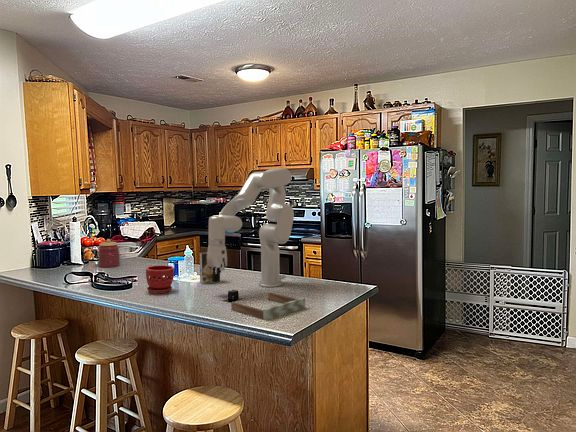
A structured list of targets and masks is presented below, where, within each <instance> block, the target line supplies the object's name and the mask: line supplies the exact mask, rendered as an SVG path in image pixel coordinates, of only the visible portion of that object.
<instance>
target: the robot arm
mask: <svg viewBox="0 0 576 432" xmlns="http://www.w3.org/2000/svg"><path fill="white" fill-rule="evenodd" d="M291 181H292V172H290V170H288V169H287V168H284V167H283V168H282V167H281V168H270V169H266V170H265V171H254V172H252V173H251V174H249V176H248V177H247V179H246V181H245V182H244V183H243V185H242V187H241V189H240V191H238V194H236V196H235V197H233V198H232V199H230V201H229V202H227V203H226V204H225V206H224V207H223V208H222V209H221V211H220V212H219V214H218V216H217V215H212V216H209V218H208V245H207V246H208V247H207V251H206V252H207V265H209V266H208V267H209V268H210V269H211V270H212V273H213V277H212V281H213V282H219V283H220V282H221V273H222V271H225V269H226V267H228V251H227V246H226V244H225V243H226V232H232V233H233V232H238V231H240V230H241V229H242V226H243V221H242V219H241V218H240V217H239V216H236V214H237V213H238V212H241V211H242V210H244V209H246V208H249V207H250V206H252V205H253V204H254V203H255V201H256V199H257V197H258V195H259V194H260V192H261V191H262V190H268V191H269V197H268V203H267V207H266V212H265V218H266V220H268V221H270V222H272V223H265V224H263V225H262V226H260V228H259V230H258V236H259V242H260V263H261V264H260V266H261V267H260V269H261V270H260V271H261V272H260V273H261V274H260V275H261V276H260V277H261V278H260V279H261V280H260V281H258V286H260V287H265V288H275V287H280V286H282V285H283V284H284V283H283V281H282V280H284V279H286V275H285V274H280V272H281V271H280V268H281V267H280V247H279V245H284V244H286V243H287V242H288V241H289V239H290V237H291V234H292V233H291V232H292V229H293V223H294V217H295V212H294V208H293V207H292V206H291V205H289V204H288V203H287V204H286V199H287V198H286V197H287V193H286V189H285V187H286V186H287V185H288V184H289V183H290V182H291ZM273 222H274V223H273Z"/></svg>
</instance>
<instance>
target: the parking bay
mask: <svg viewBox="0 0 576 432" xmlns="http://www.w3.org/2000/svg"><path fill="white" fill-rule="evenodd" d="M267 296H268V297H267V298H268V299H267V300H268V301H271V302H275V303H278V304H277V305H273V306H270V307H267V308H264V309H260V308H257V307H253V306H250V305H249V306H248V305H246V304H242V303H238V302H236V301H235V302H232V303H230V304H231V305H230V306H231V307H230V308H231V311H234V312H235V313H236V312H237V313H240V314H243V315H247V316H249V317H254V318H258V319H260V320H264V321H269V320H272V319H274V318H278V317H280V316H283V315H287V314H291V313H292V312H296V311H299V310H302V309H305V308H306V298H305V297H300V298H295V297H290V296H286V295H282V294H277V293H275V292H268V294H267Z"/></svg>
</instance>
